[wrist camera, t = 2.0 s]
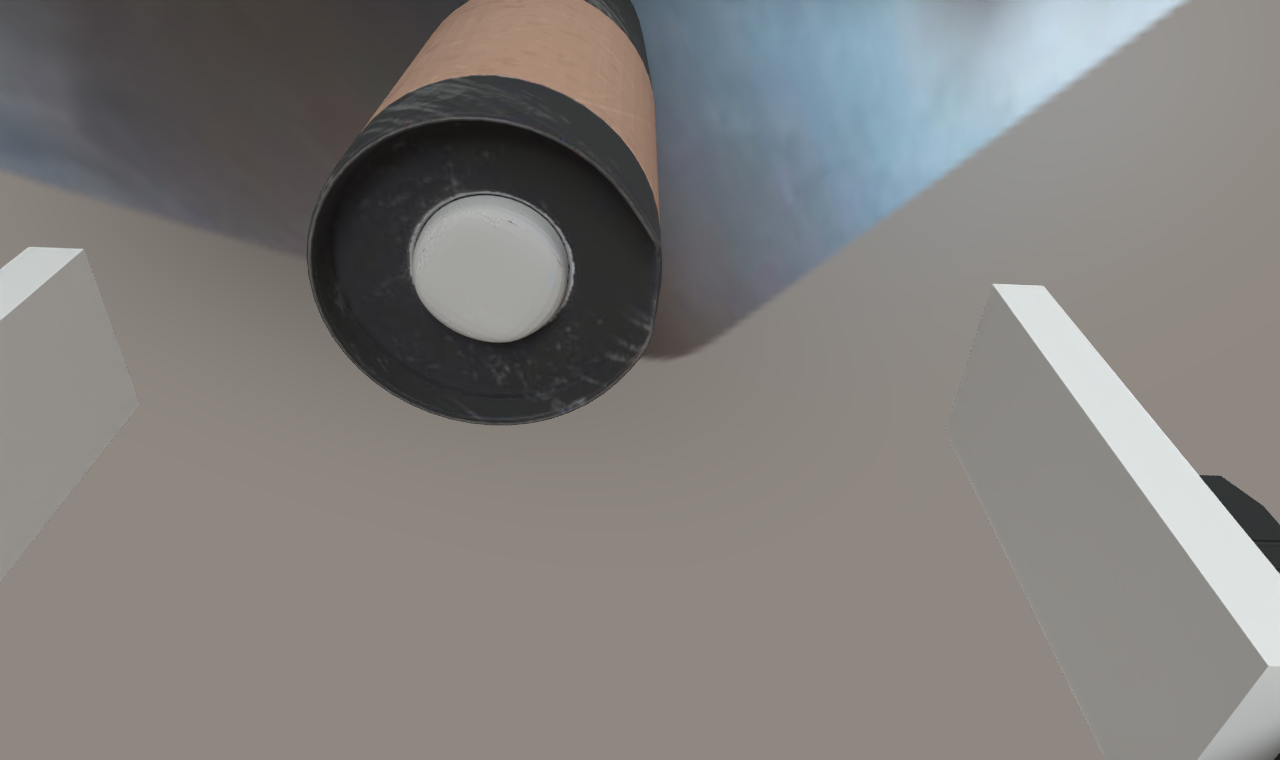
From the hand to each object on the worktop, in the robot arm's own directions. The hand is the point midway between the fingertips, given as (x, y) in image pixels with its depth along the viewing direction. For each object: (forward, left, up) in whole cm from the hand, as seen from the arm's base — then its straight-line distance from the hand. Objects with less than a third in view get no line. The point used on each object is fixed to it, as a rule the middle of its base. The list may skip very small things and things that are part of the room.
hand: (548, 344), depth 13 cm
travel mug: (-2, -2, -25) cm, 25 cm away
